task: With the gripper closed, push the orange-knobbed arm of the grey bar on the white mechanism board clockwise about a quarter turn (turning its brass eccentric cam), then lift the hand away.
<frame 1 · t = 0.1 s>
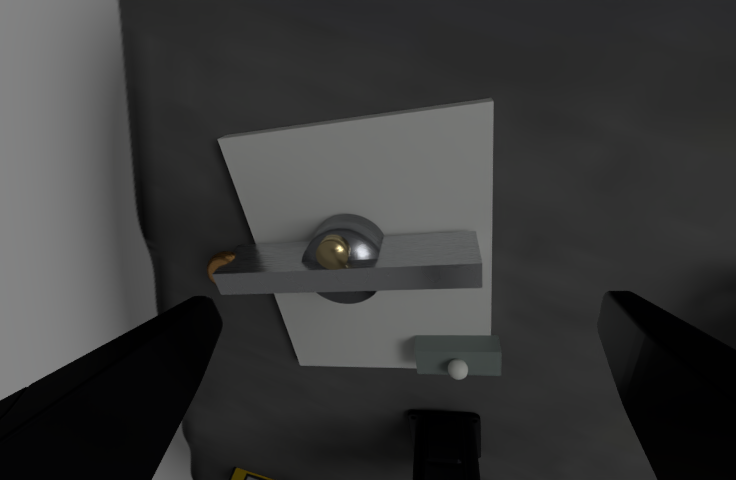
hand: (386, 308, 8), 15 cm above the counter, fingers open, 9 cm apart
white mechanism board: (373, 260, 25), on the counter
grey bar: (333, 262, 22), point 3 cm above the counter, hinge at 0.0°
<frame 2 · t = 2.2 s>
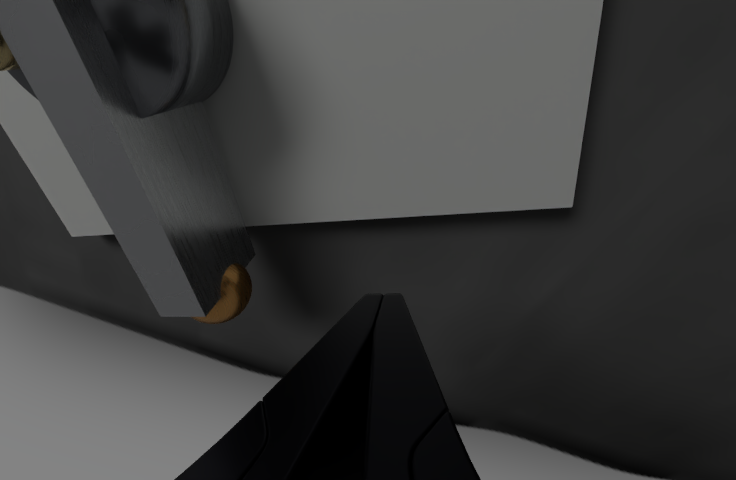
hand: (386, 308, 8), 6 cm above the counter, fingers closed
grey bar: (110, 49, 9), point 3 cm above the counter, hinge at 0.0°
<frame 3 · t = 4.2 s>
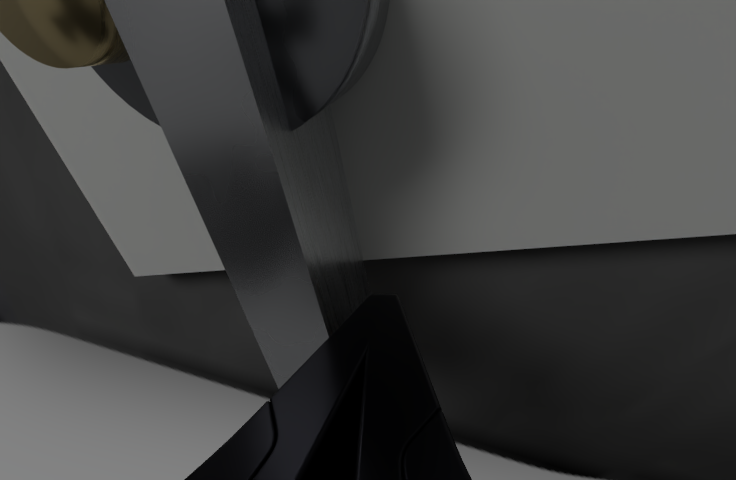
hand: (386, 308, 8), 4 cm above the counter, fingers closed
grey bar: (238, 31, 6), point 3 cm above the counter, hinge at -0.8°, touching gripper
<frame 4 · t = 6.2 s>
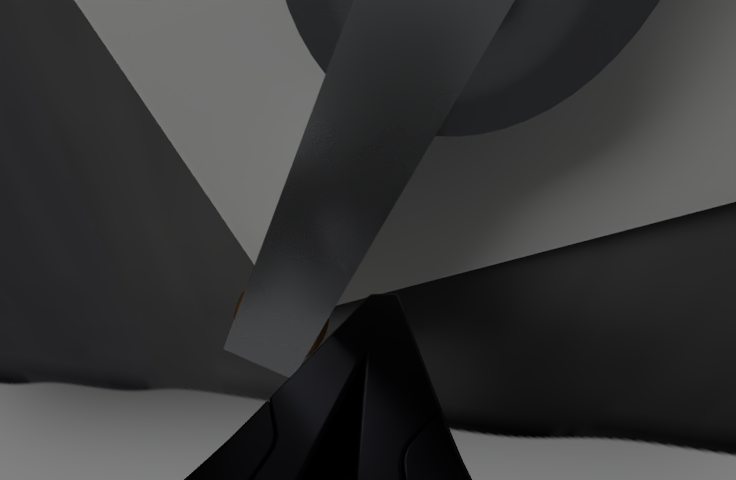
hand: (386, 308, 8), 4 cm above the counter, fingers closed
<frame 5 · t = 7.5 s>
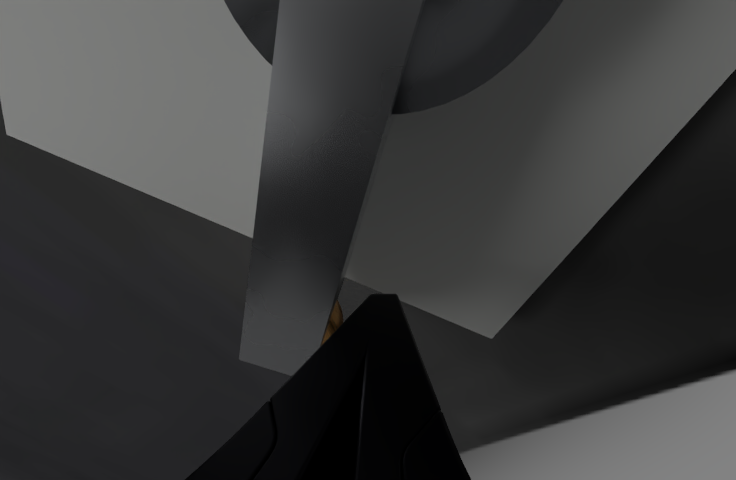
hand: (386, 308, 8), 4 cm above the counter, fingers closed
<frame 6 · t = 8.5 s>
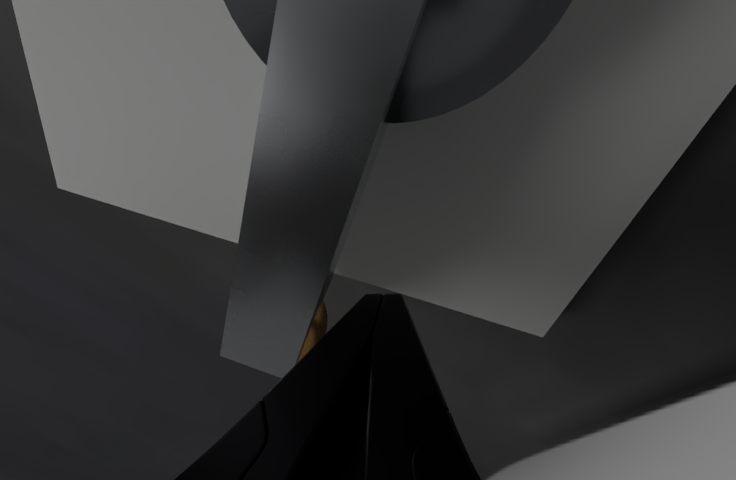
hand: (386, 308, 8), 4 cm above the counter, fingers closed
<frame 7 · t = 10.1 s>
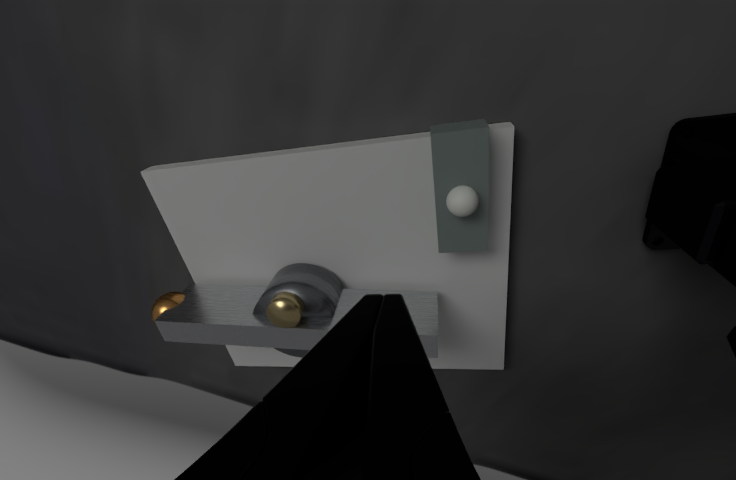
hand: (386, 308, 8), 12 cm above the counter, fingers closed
white mechanism board: (340, 269, 23), on the counter
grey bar: (287, 314, 21), point 3 cm above the counter, hinge at -94.6°
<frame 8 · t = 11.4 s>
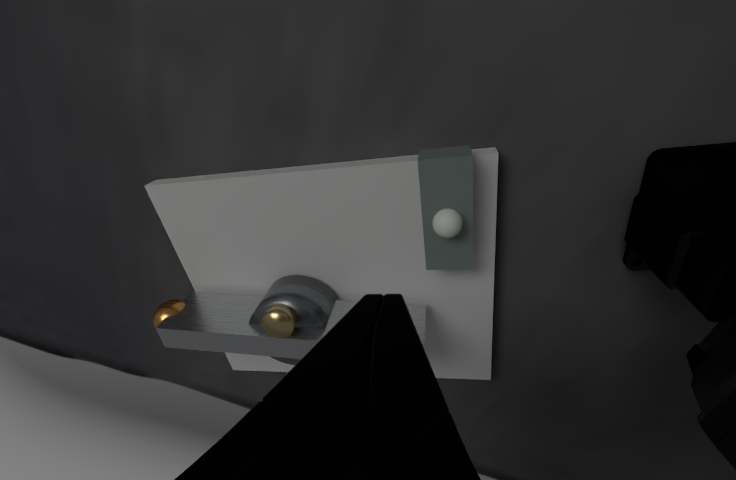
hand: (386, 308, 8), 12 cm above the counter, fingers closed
white mechanism board: (334, 280, 23), on the counter
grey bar: (282, 324, 22), point 3 cm above the counter, hinge at -94.6°
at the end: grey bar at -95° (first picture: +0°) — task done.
